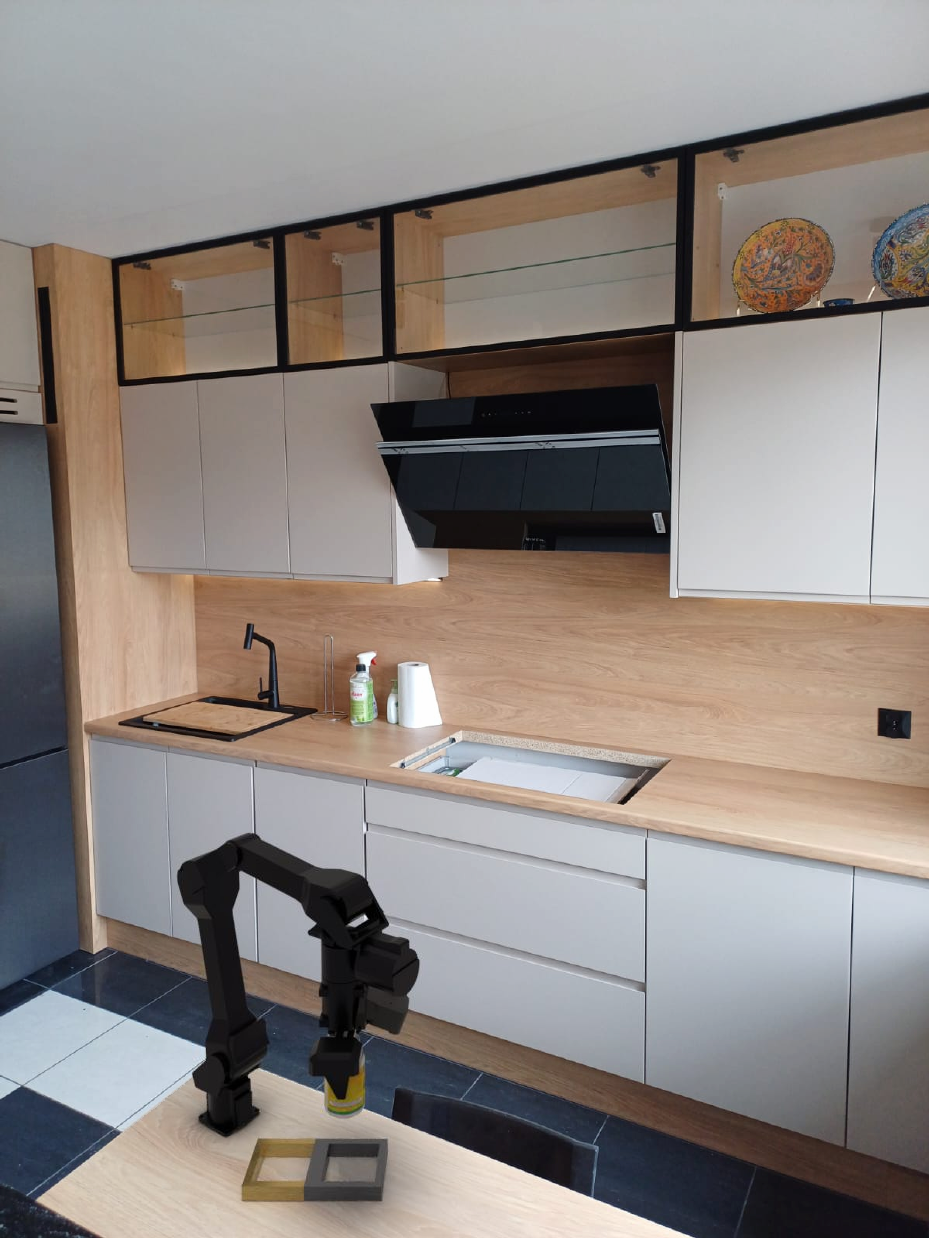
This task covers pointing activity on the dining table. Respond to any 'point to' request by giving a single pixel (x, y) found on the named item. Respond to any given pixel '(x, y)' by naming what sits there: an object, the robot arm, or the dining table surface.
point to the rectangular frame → (315, 1170)
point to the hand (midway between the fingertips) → (344, 1085)
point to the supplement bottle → (347, 1095)
